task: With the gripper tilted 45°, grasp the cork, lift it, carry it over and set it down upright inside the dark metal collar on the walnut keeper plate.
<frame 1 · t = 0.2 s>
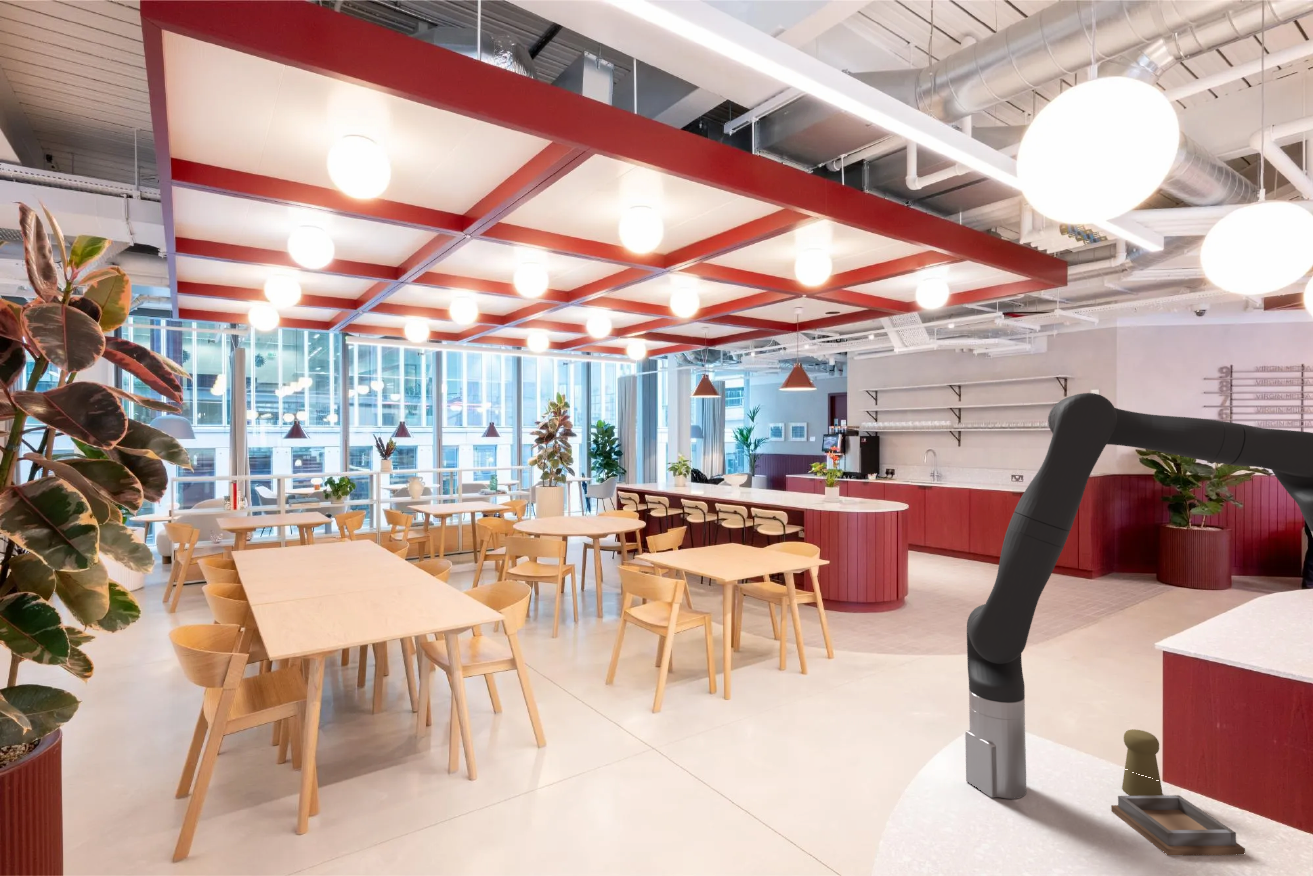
keeper plate: (1174, 831, 103), on the countertop
cork: (1142, 794, 115), on the countertop
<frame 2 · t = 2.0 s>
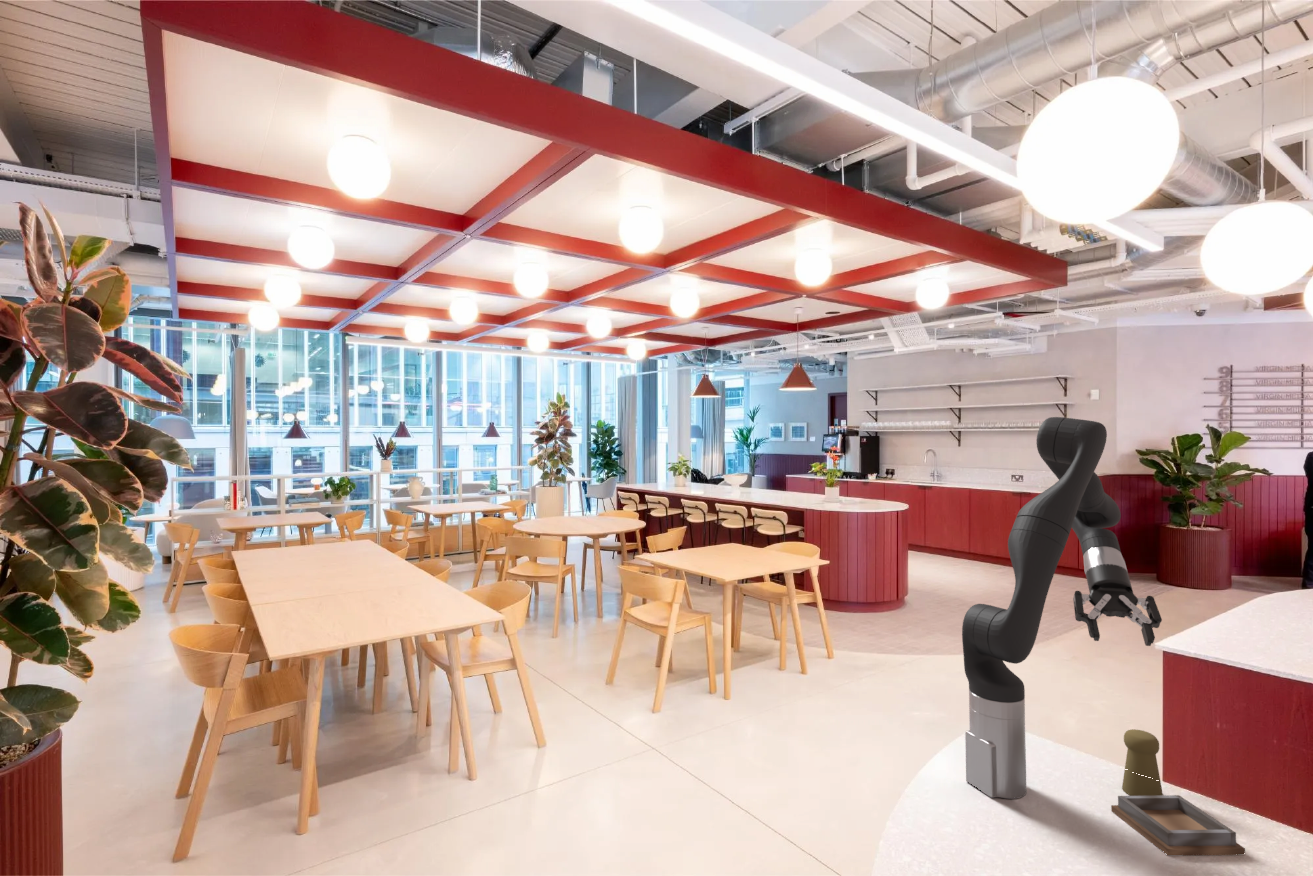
hand: (1122, 641, 125), 25 cm above the countertop, tool tilted 45°, fingers open, 8 cm apart
nothing on the countertop moved.
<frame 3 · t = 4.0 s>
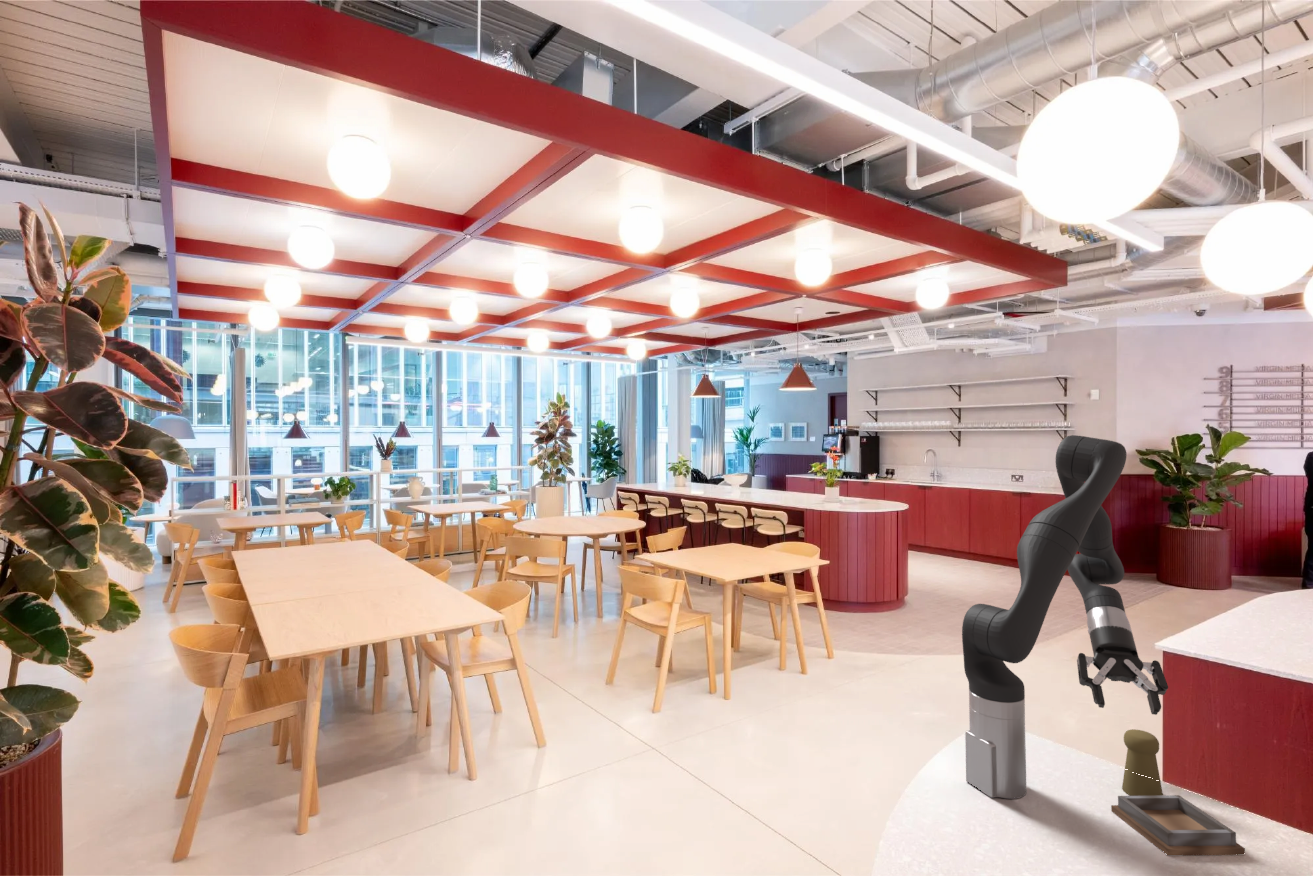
hand: (1128, 709, 122), 12 cm above the countertop, tool tilted 45°, fingers open, 8 cm apart
nothing on the countertop moved.
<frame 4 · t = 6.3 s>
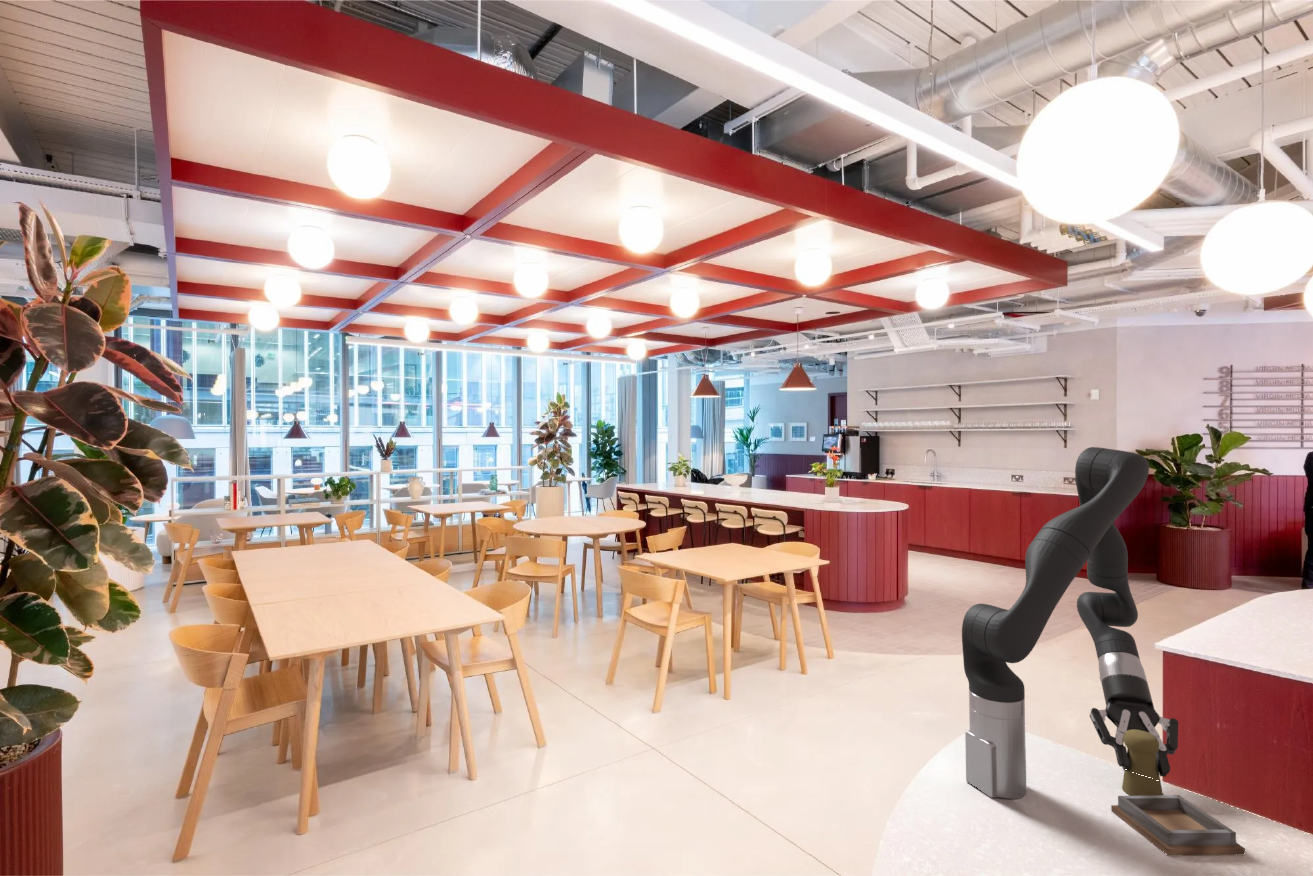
hand: (1145, 771, 113), 5 cm above the countertop, tool tilted 45°, fingers closed on cork, 5 cm apart
cork: (1142, 794, 115), on the countertop, touching gripper
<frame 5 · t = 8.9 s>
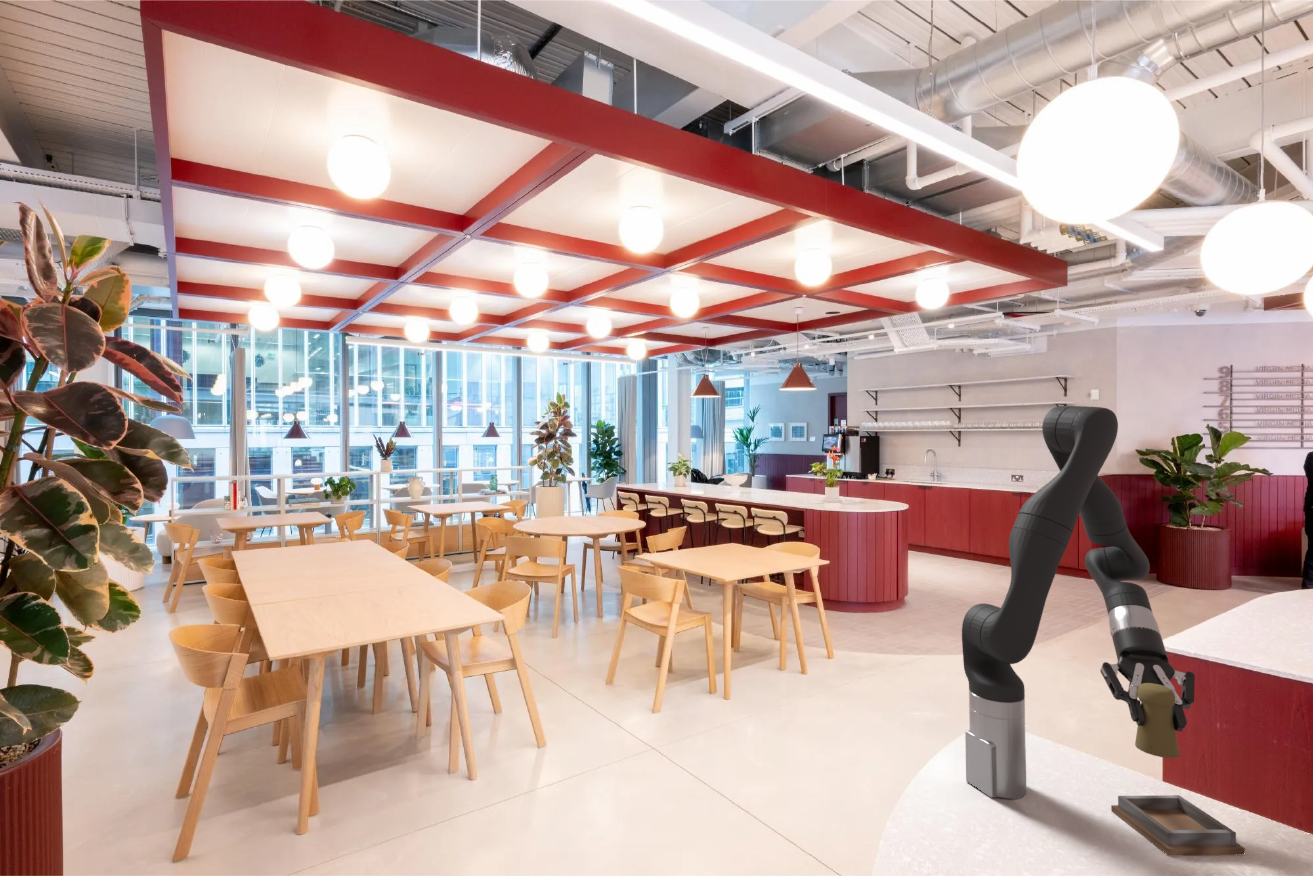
hand: (1160, 726, 107), 16 cm above the countertop, tool tilted 45°, fingers closed on cork, 4 cm apart
cork: (1156, 750, 109), point 11 cm above the countertop, touching gripper
when the fingers open (7 cm above the countertop, at t = 11.3 s): cork drops 1 cm, resting on keeper plate.
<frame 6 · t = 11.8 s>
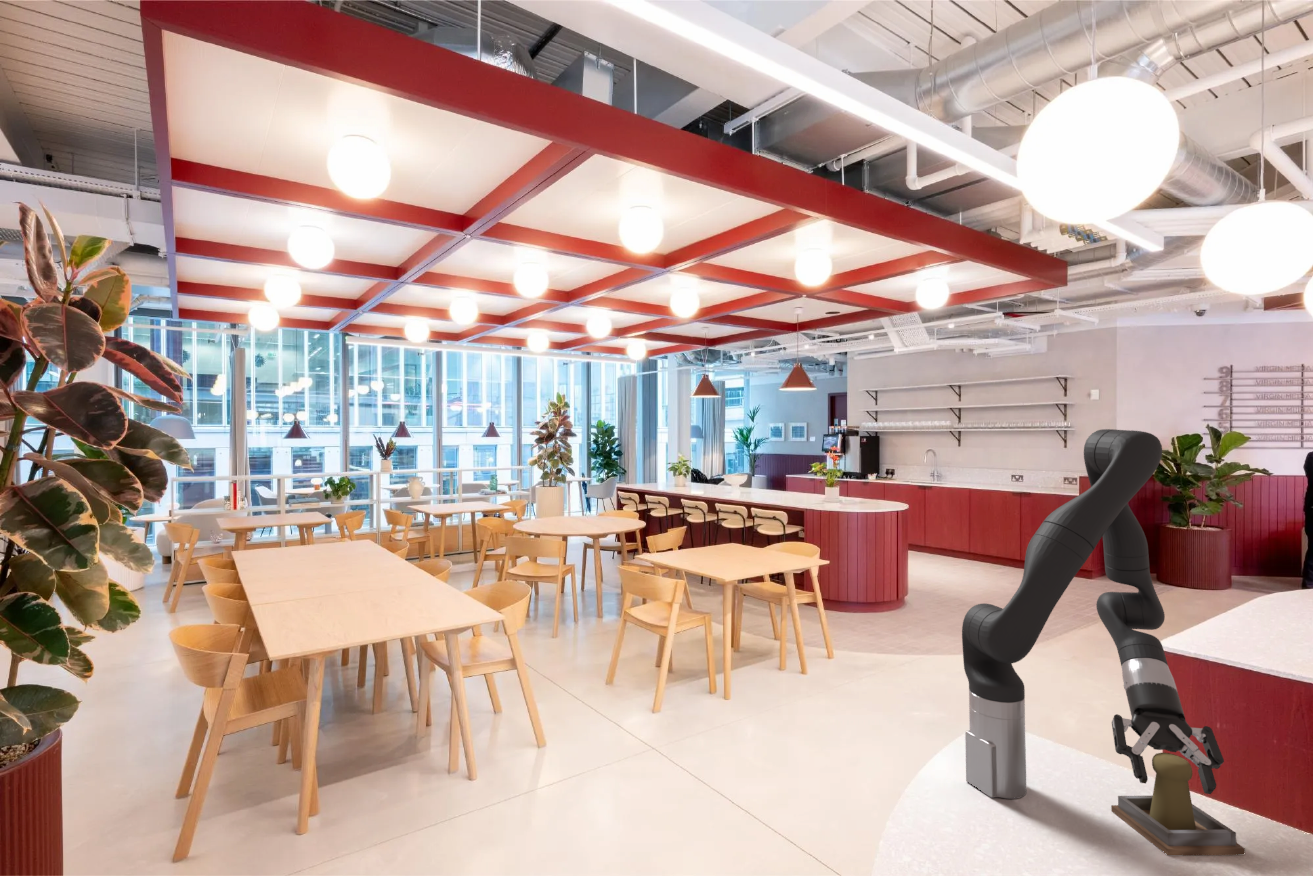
hand: (1176, 786, 102), 8 cm above the countertop, tool tilted 45°, fingers open, 8 cm apart
cork: (1172, 824, 104), point 1 cm above the countertop, touching keeper plate
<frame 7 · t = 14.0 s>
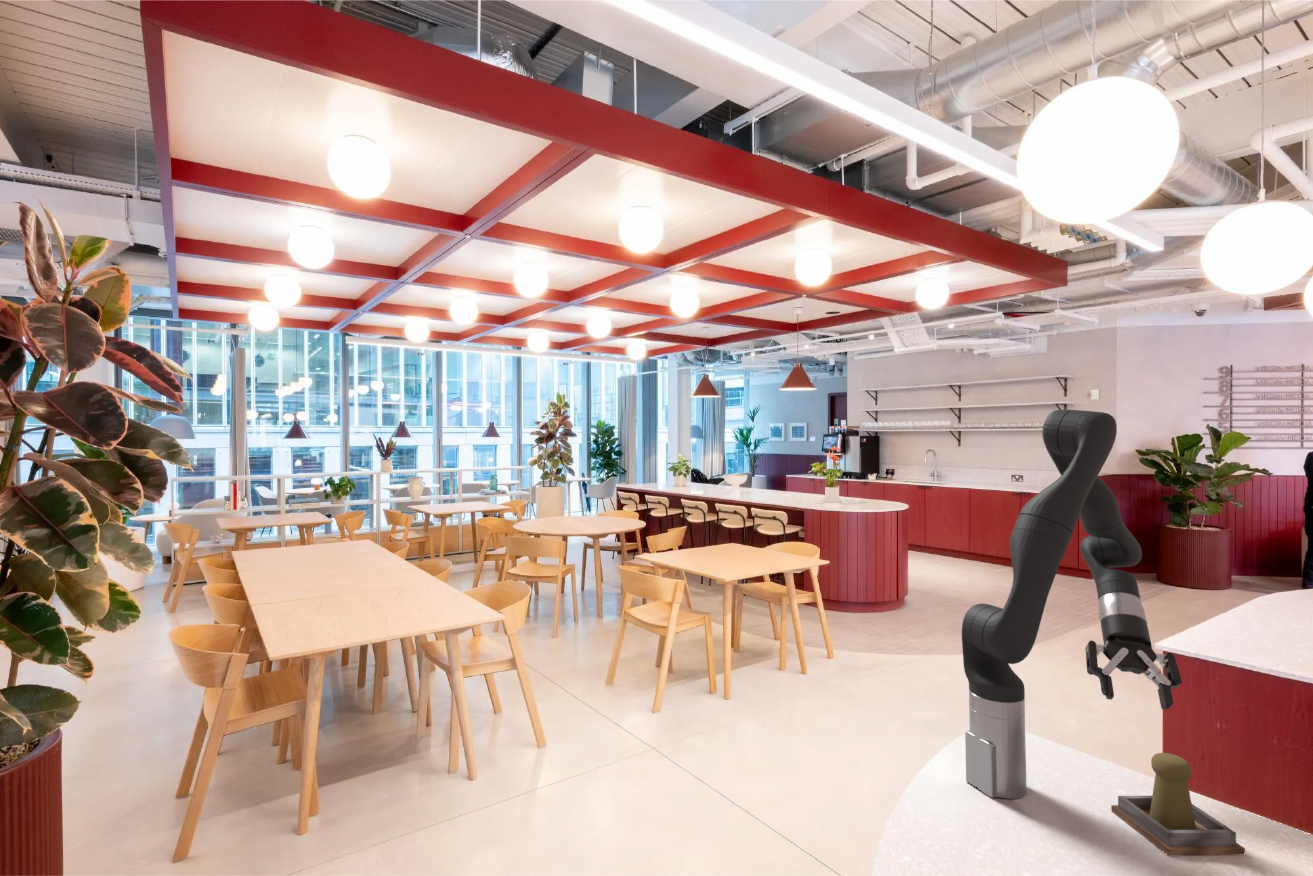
hand: (1138, 703, 115), 16 cm above the countertop, tool tilted 40°, fingers open, 8 cm apart
nothing on the countertop moved.
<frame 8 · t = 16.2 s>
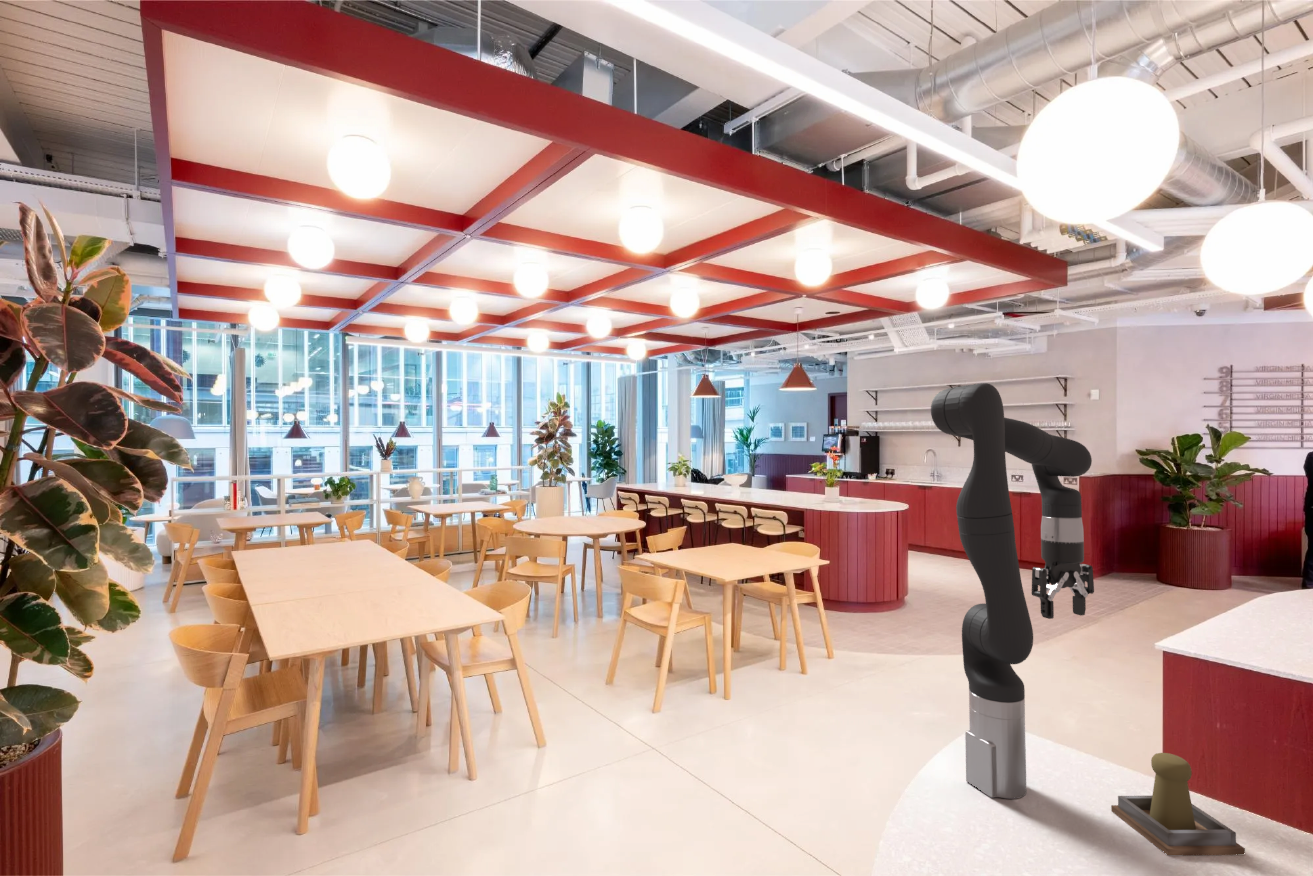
hand: (1063, 616, 131), 28 cm above the countertop, tool pointing down, fingers open, 8 cm apart
nothing on the countertop moved.
at the end: cork 0.4 cm off-centre on the keeper plate, point 0.8 cm above the keeper plate's base; cork tilted 0°; the gripper is holding nothing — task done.
